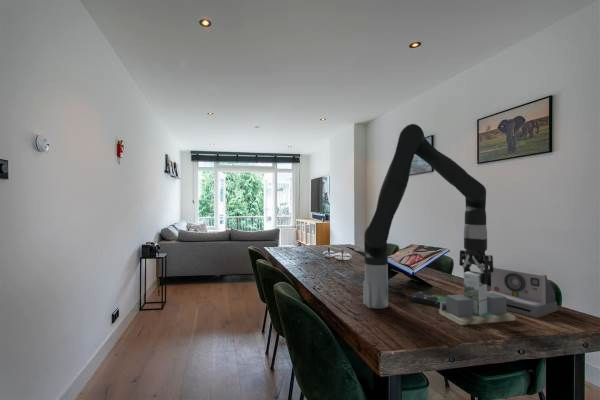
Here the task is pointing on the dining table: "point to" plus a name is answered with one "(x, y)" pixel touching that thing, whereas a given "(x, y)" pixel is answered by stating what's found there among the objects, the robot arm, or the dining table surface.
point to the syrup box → (476, 291)
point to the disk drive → (427, 298)
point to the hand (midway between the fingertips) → (475, 281)
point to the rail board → (479, 319)
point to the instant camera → (524, 291)
